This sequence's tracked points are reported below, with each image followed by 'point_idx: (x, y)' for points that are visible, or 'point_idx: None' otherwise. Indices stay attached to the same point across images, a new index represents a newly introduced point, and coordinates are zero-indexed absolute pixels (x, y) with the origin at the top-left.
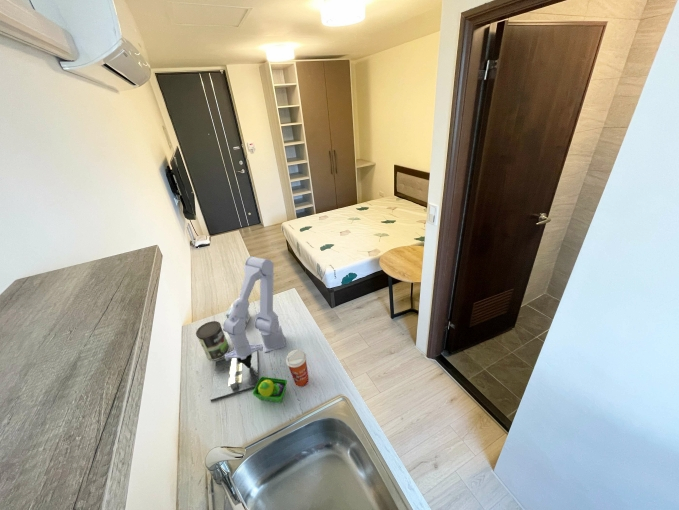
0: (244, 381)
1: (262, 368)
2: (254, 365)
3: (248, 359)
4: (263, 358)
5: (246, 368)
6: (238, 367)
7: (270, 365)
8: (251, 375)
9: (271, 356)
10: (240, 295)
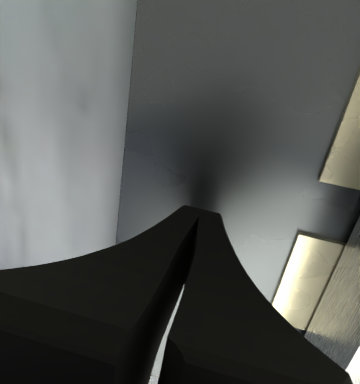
0: (320, 40)
1: (91, 148)
2: (149, 216)
3: (57, 294)
4: (74, 252)
5: (240, 230)
6: (319, 292)
7: (15, 139)
8: (207, 93)
9: (7, 231)
10: None
